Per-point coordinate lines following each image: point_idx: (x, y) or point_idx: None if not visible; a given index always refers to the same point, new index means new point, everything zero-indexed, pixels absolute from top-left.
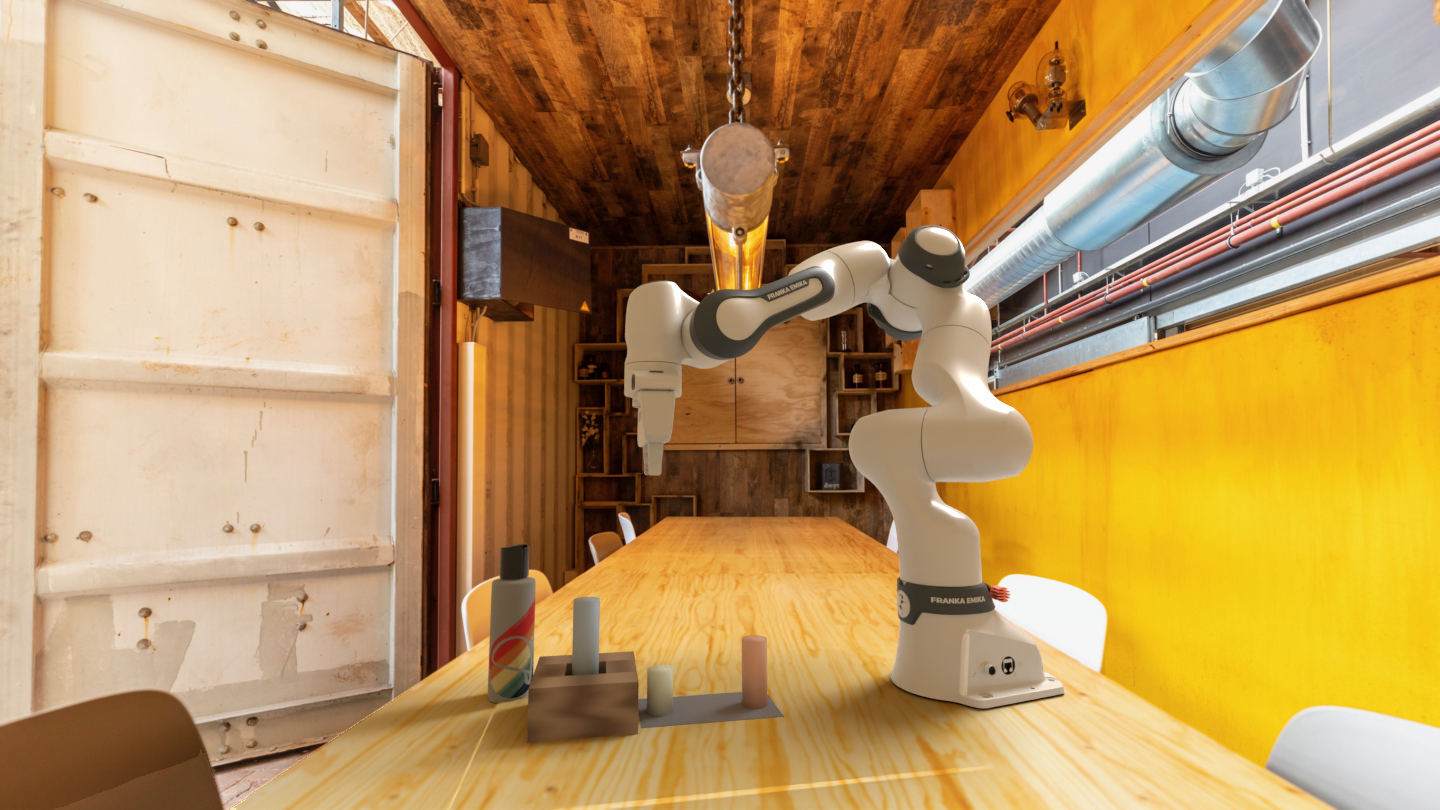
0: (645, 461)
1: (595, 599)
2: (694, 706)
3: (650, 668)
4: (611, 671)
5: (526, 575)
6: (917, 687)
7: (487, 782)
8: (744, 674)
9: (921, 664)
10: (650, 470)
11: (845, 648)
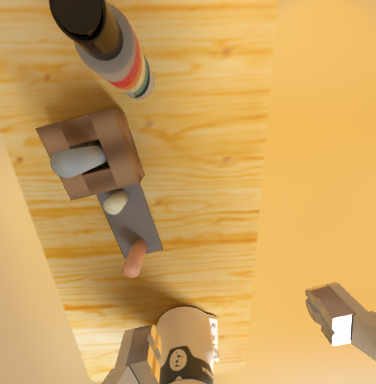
0: (368, 325)
1: (66, 174)
2: (131, 214)
3: (111, 199)
4: (87, 178)
5: (99, 59)
6: (164, 316)
7: (14, 123)
8: (130, 251)
9: (165, 329)
10: (123, 343)
11: (248, 290)
